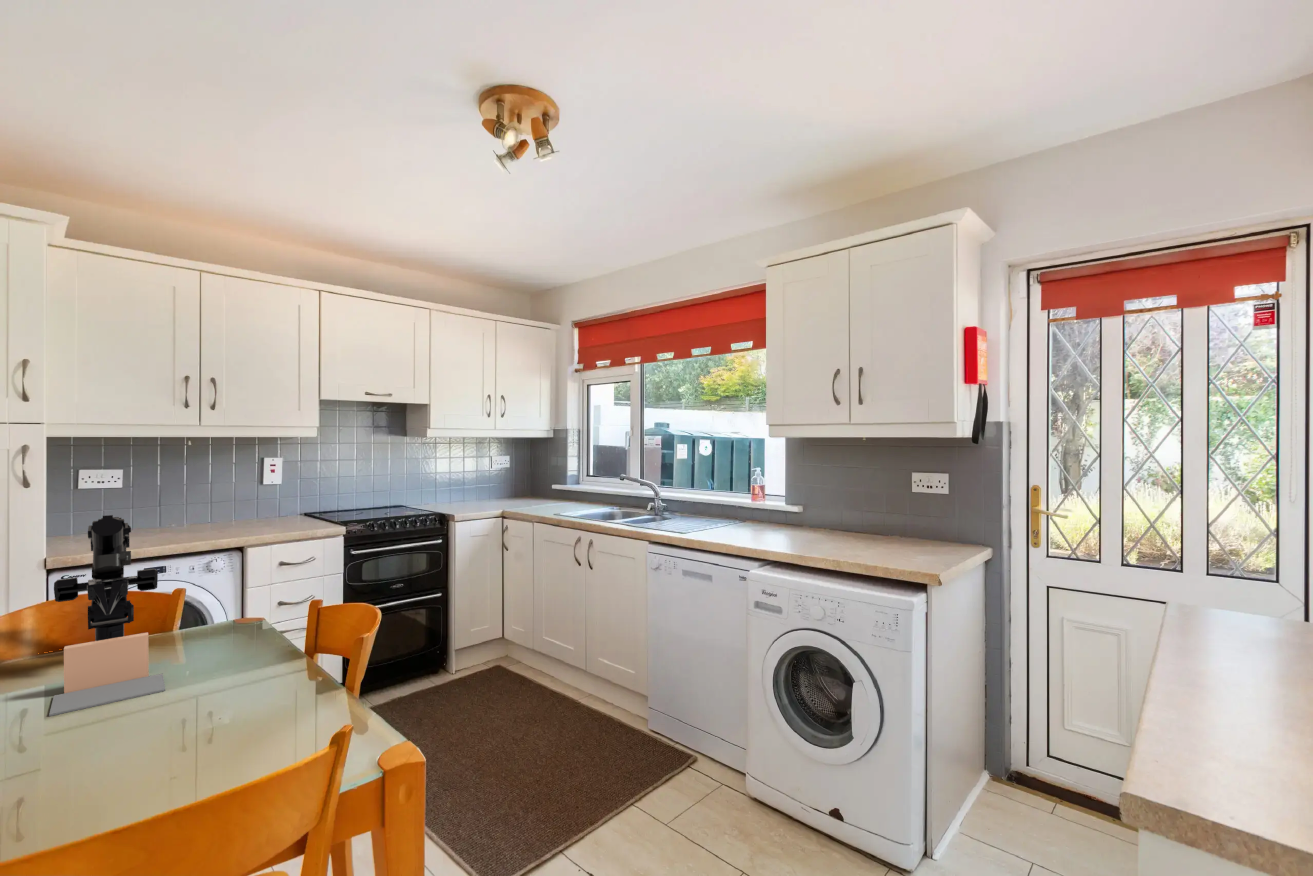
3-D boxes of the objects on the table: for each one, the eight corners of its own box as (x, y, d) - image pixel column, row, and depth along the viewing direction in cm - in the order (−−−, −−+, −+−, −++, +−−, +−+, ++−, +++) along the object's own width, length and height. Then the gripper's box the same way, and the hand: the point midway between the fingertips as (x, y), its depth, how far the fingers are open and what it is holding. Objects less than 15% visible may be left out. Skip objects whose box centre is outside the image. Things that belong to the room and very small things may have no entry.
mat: (54, 697, 129) (54, 695, 129) (162, 675, 141) (162, 673, 141) (49, 716, 120) (49, 714, 120) (165, 690, 132) (165, 689, 132)
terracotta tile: (64, 692, 132) (64, 646, 132) (148, 675, 142) (147, 632, 142) (64, 695, 131) (63, 649, 131) (148, 678, 140) (148, 634, 140)
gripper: (54, 545, 142) (50, 602, 134) (157, 536, 154) (159, 587, 146) (57, 573, 148) (53, 629, 140) (156, 563, 160) (158, 613, 152)
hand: (107, 614), depth 144 cm, fingers closed
